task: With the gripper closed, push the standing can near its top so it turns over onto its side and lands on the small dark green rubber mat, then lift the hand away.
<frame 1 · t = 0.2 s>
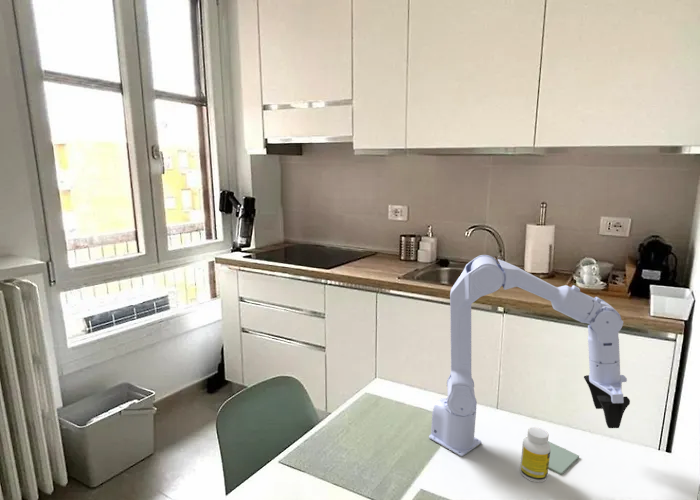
hand: (606, 417, 100), 11 cm above the table, tool pointing down, fingers open, 7 cm apart
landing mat: (552, 457, 103), on the table
supplement bottle: (533, 475, 98), on the table
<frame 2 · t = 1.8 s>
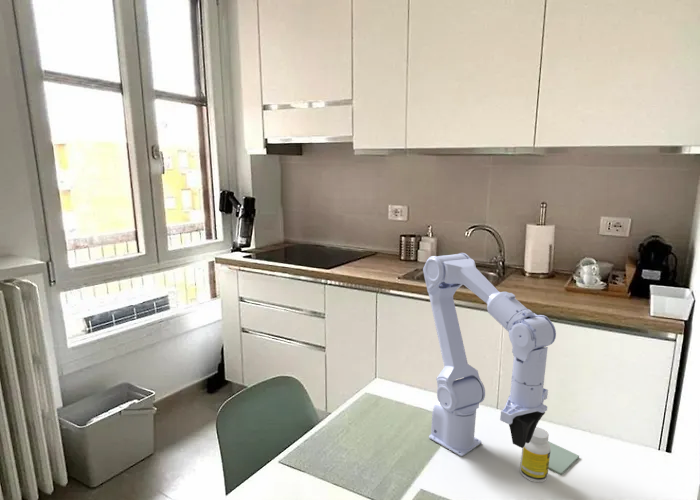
hand: (521, 442, 91), 10 cm above the table, tool pointing down, fingers closed
nothing on the table moved.
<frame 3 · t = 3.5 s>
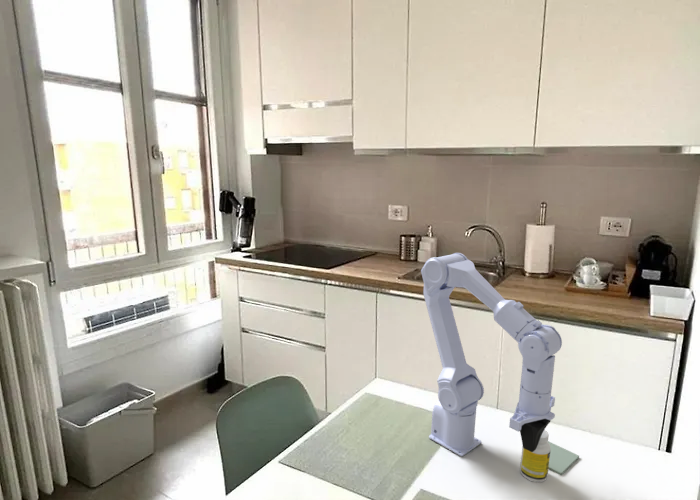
hand: (529, 448, 94), 7 cm above the table, tool pointing down, fingers closed
supplement bottle: (533, 475, 98), on the table, touching gripper
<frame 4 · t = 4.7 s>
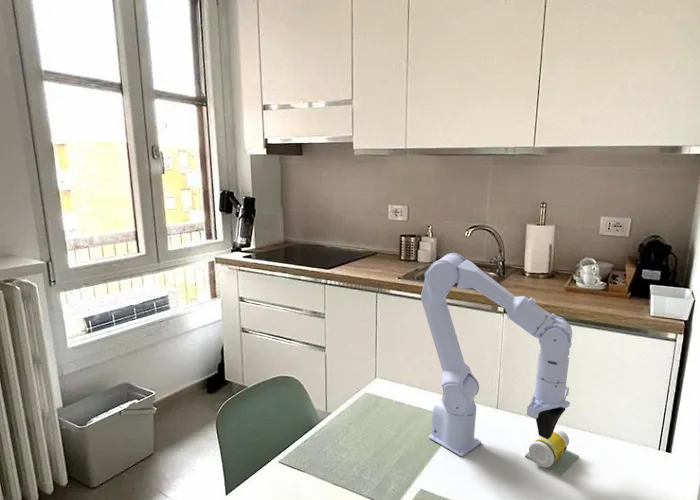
hand: (544, 436, 98), 7 cm above the table, tool pointing down, fingers closed
supplement bottle: (539, 455, 99), point 3 cm above the table, touching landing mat
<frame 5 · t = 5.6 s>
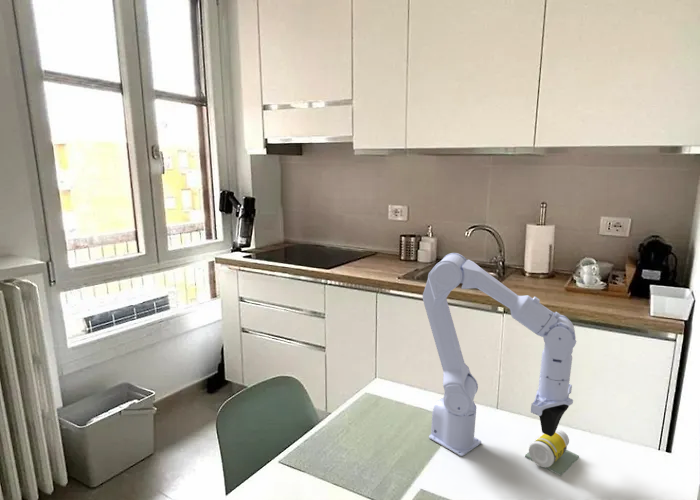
hand: (548, 433, 100), 7 cm above the table, tool pointing down, fingers closed
nothing on the table moved.
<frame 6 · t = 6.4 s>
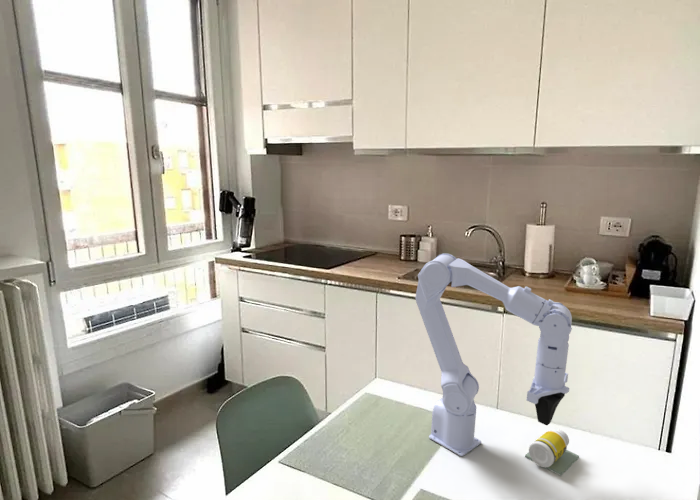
hand: (543, 422, 98), 10 cm above the table, tool pointing down, fingers closed
nothing on the table moved.
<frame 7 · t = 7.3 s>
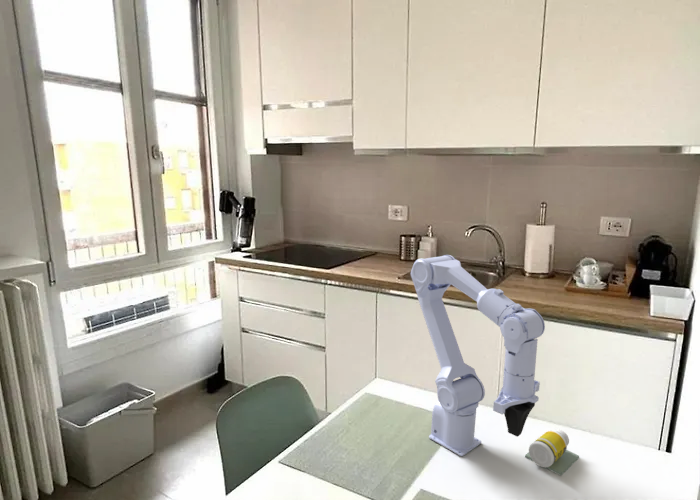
hand: (514, 433, 94), 10 cm above the table, tool pointing down, fingers closed
nothing on the table moved.
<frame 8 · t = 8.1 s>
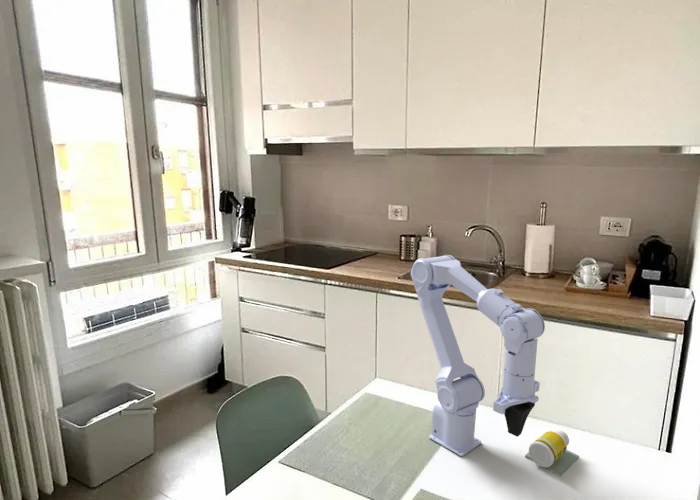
hand: (514, 433, 94), 10 cm above the table, tool pointing down, fingers closed
nothing on the table moved.
at the end: supplement bottle tilted 90°; supplement bottle touching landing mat; supplement bottle inside the target area (4.7 cm from its centre), point 3.2 cm above the table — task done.
